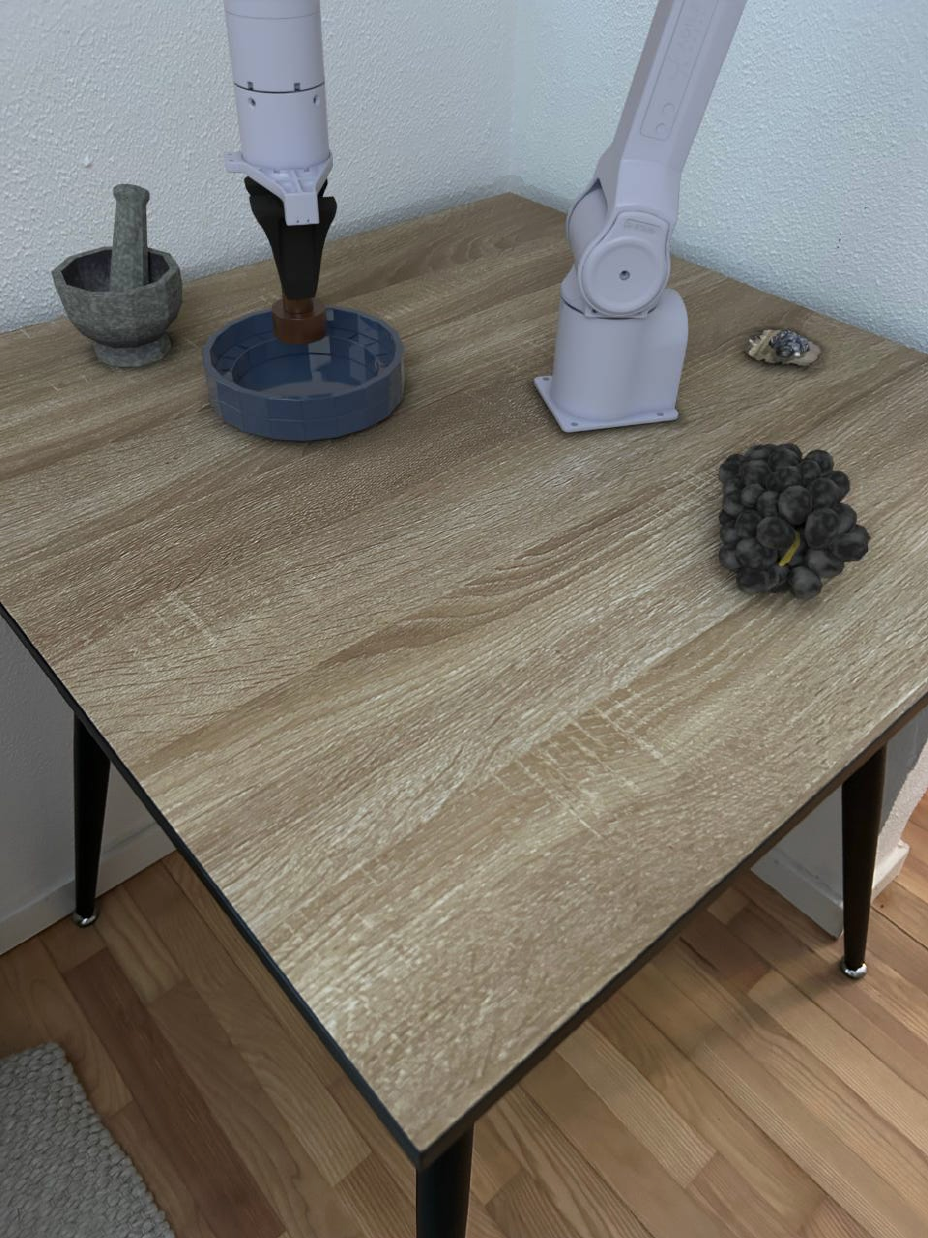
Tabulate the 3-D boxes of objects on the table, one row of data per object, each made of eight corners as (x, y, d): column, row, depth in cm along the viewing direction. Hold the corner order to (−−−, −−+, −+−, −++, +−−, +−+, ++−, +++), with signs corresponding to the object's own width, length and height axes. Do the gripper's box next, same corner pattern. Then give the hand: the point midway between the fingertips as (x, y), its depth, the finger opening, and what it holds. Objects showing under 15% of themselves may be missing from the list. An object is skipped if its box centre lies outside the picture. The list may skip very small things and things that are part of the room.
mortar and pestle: (163, 384, 78) (132, 234, 70) (53, 371, 79) (10, 221, 71) (213, 321, 86) (191, 180, 78) (113, 310, 87) (81, 170, 79)
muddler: (323, 317, 75) (314, 197, 69) (331, 342, 72) (323, 218, 66) (270, 322, 74) (257, 201, 68) (277, 347, 71) (263, 222, 65)
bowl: (384, 341, 84) (382, 296, 82) (422, 434, 74) (422, 387, 71) (204, 358, 81) (196, 312, 79) (217, 458, 71) (209, 409, 68)
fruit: (745, 364, 64) (785, 493, 53) (854, 407, 65) (916, 542, 54) (680, 467, 70) (704, 604, 58) (782, 505, 71) (825, 646, 60)
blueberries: (743, 368, 82) (748, 348, 81) (739, 326, 88) (743, 306, 87) (825, 377, 82) (831, 356, 80) (815, 333, 88) (821, 313, 86)
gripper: (206, 52, 66) (233, 252, 75) (223, 118, 56) (252, 339, 65) (311, 49, 67) (324, 245, 76) (346, 112, 57) (357, 329, 66)
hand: (298, 288), depth 71 cm, fingers closed on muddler, 2 cm apart
